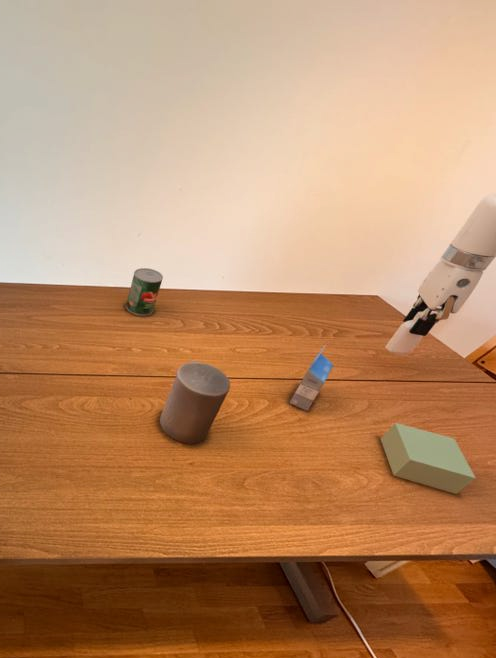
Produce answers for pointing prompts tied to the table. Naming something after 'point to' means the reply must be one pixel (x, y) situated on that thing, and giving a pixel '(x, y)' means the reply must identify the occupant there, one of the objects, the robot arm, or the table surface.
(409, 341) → the eye dropper bottle
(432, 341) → the table surface
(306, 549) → the table surface
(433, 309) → the robot arm
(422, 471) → the block
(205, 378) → the pillar candle
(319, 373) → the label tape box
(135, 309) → the canned tomato
